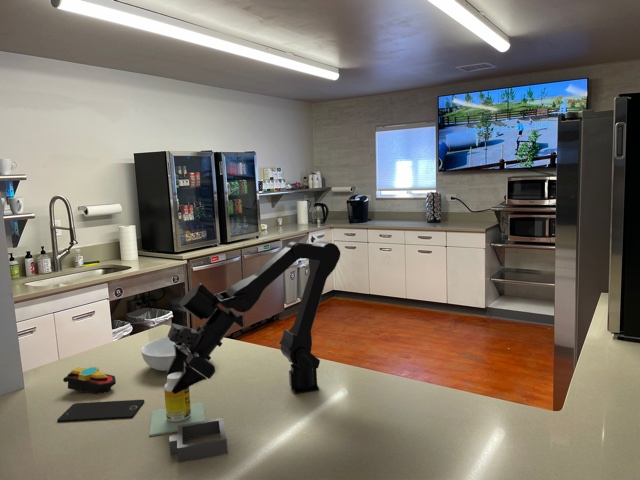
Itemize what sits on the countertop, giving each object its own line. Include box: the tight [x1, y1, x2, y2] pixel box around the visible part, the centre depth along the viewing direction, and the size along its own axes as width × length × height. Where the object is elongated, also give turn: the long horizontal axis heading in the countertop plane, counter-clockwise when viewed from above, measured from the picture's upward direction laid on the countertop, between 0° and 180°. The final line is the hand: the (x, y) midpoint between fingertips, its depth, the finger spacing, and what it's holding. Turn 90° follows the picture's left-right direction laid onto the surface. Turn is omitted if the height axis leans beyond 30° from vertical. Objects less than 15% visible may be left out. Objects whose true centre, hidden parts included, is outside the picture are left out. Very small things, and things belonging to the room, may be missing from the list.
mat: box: [148, 402, 206, 437], centre depth 113 cm, size 12×12×1 cm
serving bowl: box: [140, 336, 184, 372], centre depth 147 cm, size 21×21×7 cm
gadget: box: [62, 366, 117, 395], centre depth 132 cm, size 6×13×6 cm, turn 78°
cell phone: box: [56, 399, 145, 423], centre depth 119 cm, size 9×18×1 cm, turn 92°
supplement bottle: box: [163, 371, 191, 422], centre depth 112 cm, size 6×6×10 cm
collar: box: [168, 417, 228, 463], centre depth 101 cm, size 11×10×3 cm
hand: (169, 385), depth 111 cm, fingers open, 9 cm apart
